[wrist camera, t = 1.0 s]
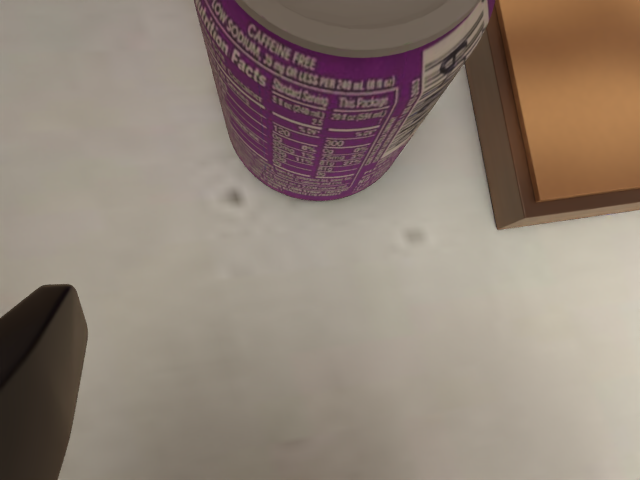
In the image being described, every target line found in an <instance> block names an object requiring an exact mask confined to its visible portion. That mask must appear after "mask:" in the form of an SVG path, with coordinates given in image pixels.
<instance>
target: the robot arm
mask: <svg viewBox="0 0 640 480" xmlns="http://www.w3.org/2000/svg"><path fill="white" fill-rule="evenodd" d="M87 340H88V329H87V323H86V320H85V317H84V313H83V310H82V307H81V304H80V300H79V297H78V294H77V291H76V289H75V288H74V287H73V286H72V285H70V284H53V285H43V286H41V287H39V288H38V289H36V290H35V291H34V292H33V293H31V294H30V295H29V296H27V297H26V298H25V299H24V300H22V301H21V302H20V303H19V304H17V305H16V306H15V307H14V308H12V309H11V310H10V311H9V312H7V313H6V314H5V315H4V316H2V317H1V318H0V480H58V476H59V473H60V470H61V467H62V463H63V460H64V457H65V453H66V450H67V446H68V442H69V439H70V434H71V429H72V424H73V419H74V414H75V408H76V402H77V397H78V391H79V385H80V380H81V374H82V369H83V363H84V357H85V352H86V346H87Z"/></svg>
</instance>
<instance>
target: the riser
mask: <svg viewBox="0 0 640 480" xmlns="http://www.w3.org/2000/svg"><path fill="white" fill-rule="evenodd" d="M465 66H466V71H467V76H468V81H469V86H470V91H471V97H472V102H473V107H474V112H475V117H476V122H477V127H478V133H479V138H480V143H481V148H482V153H483V158H484V163H485V169H486V174H487V179H488V184H489V189H490V194H491V199H492V205H493V210H494V215H495V220H496V225H497V229H498V230H501V229H508V228H515V227H522V226H529V225H536V224H543V223H550V222H557V221H564V220H571V219H578V218H585V217H592V216H599V215H606V214H613V213H620V212H627V211H634V210H640V0H495V4H494V7H493V11H492V14H491V17H490V20H489V22H488V25H487V27H486V29H485V31H484V33H483V35H482V37H481V39H480V41H479V42H478V44H477V46H476V47H475V49H474V50H473V52H472V53H471V55H470V56H469V57H468V59H467V60H466V62H465Z"/></svg>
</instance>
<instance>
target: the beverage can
mask: <svg viewBox="0 0 640 480" xmlns="http://www.w3.org/2000/svg"><path fill="white" fill-rule="evenodd" d="M194 3H195V7H196V11H197V15H198V18H199V22H200V26H201V30H202V34H203V38H204V42H205V45H206V49H207V53H208V57H209V61H210V65H211V68H212V72H213V76H214V80H215V84H216V88H217V91H218V95H219V99H220V103H221V107H222V111H223V115H224V118H225V122H226V126H227V130H228V134H229V137H230V140H231V142H232V145H233V147H234V149H235V151H236V153H237V155H238V156H239V158H240V160H241V161H242V162H243V164H244V165H245V166H246V167H247V169H248V170H249V171H250V172H251V173H252V174H253V175H254V176H255V177H257V178H258V179H259V180H260V181H261V182H263V183H264V184H266V185H267V186H269V187H270V188H272V189H274V190H276V191H278V192H280V193H283V194H285V195H288V196H291V197H294V198H298V199H304V200H313V201H325V200H334V199H339V198H344V197H347V196H350V195H353V194H355V193H357V192H359V191H361V190H363V189H365V188H367V187H368V186H370V185H371V184H373V183H374V182H376V181H377V180H378V179H379V178H380V177H381V176H382V175H383V174H384V173H385V172H386V171H387V170H388V169H389V168H390V166H391V165H392V163H393V162H394V161H395V159H396V158H397V157H398V155H399V154H400V152H401V151H402V150H403V148H404V147H405V145H406V144H407V143H408V141H409V140H410V138H411V137H412V136H413V134H414V133H415V131H416V130H417V129H418V127H419V126H420V124H421V123H422V122H423V120H424V119H425V117H426V116H427V115H428V113H429V112H430V110H431V109H432V108H433V106H434V105H435V103H436V102H437V101H438V99H439V98H440V96H441V95H442V94H443V92H444V91H445V89H446V88H447V87H448V85H449V84H450V83H451V81H452V80H453V78H454V77H455V76H456V74H457V73H458V71H459V70H460V69H461V67H462V66H463V64H464V63H465V62H466V60H467V59H468V57H469V56H470V55H471V53H472V52H473V50H474V49H475V47H476V46H477V44H478V42H479V41H480V39H481V37H482V35H483V33H484V31H485V29H486V27H487V25H488V22H489V20H490V17H491V14H492V11H493V7H494V4H495V0H194Z"/></svg>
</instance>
